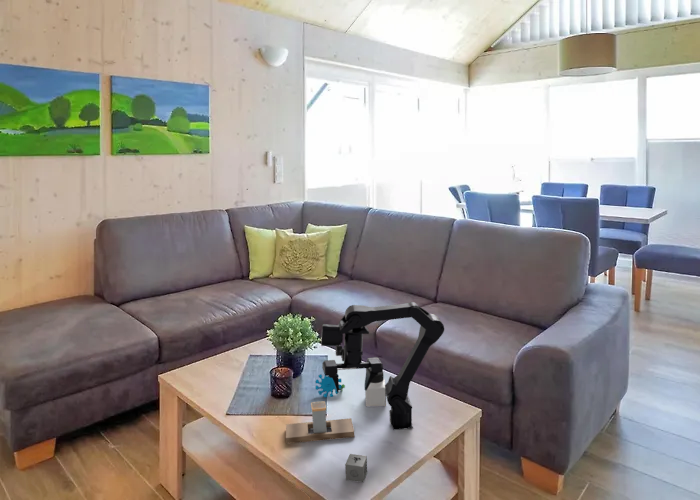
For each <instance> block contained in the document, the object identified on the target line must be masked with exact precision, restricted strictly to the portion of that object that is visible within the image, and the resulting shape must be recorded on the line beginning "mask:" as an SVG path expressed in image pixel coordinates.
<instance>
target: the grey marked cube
mask: <svg viewBox="0 0 700 500" xmlns="http://www.w3.org/2000/svg"><path fill="white" fill-rule="evenodd" d="M344 465H345V481H348V482H357V483H364V482H365V479H366V476H367V474H368V456H367V455H363V454H355V453H354V454H353V453H349V455H348V458H347V459H346V462H345V463H344Z"/></svg>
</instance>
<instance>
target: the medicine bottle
mask: <svg viewBox="0 0 700 500" xmlns="http://www.w3.org/2000/svg"><path fill="white" fill-rule="evenodd" d="M385 385H386V380H385V378H384V371H383V372H379V374H378V375H376V376H375V377H374V378H373V380H372V381H371V383H370V385H369V387H368V388H367V390H366V391H365V390H364V391H365V392H364V393H365V394H364V395H365V407H366V408H367V407H373V408H374V407H386V406H387V397H386V393H385Z"/></svg>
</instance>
